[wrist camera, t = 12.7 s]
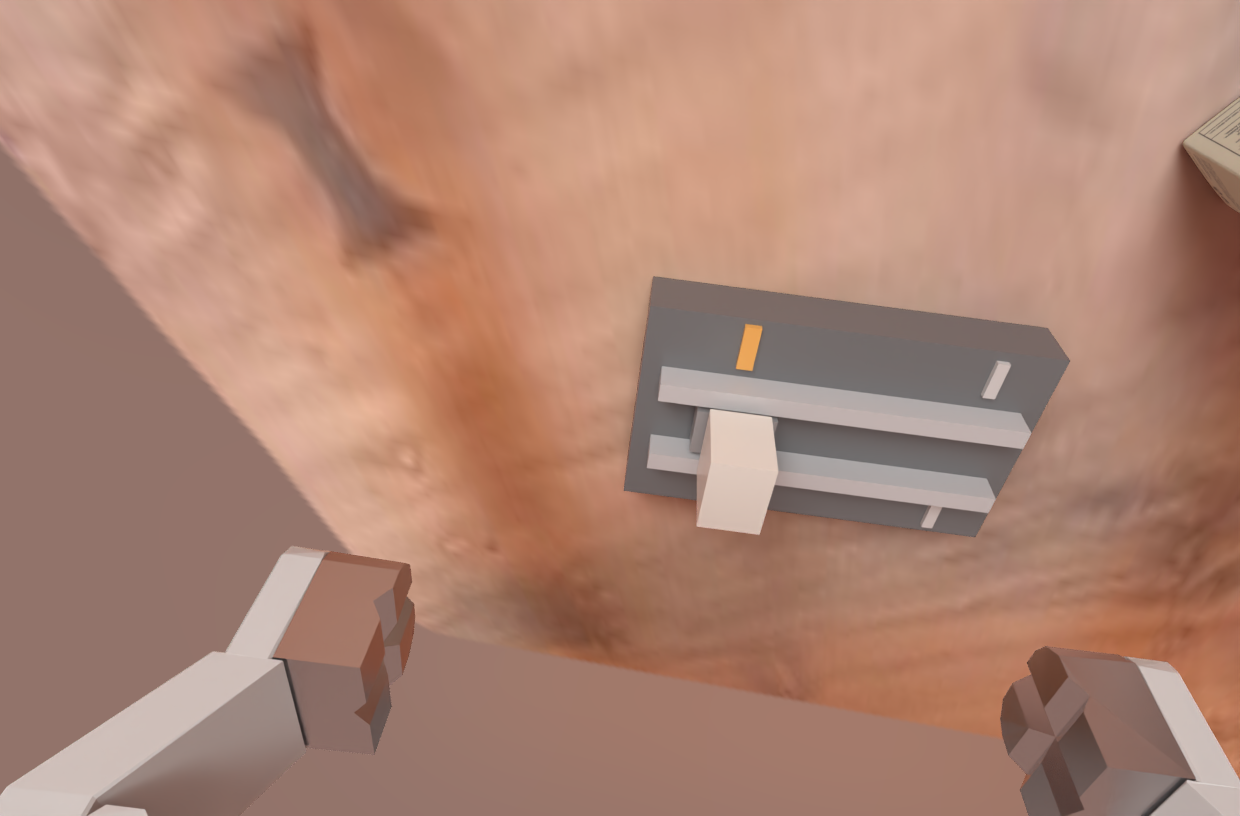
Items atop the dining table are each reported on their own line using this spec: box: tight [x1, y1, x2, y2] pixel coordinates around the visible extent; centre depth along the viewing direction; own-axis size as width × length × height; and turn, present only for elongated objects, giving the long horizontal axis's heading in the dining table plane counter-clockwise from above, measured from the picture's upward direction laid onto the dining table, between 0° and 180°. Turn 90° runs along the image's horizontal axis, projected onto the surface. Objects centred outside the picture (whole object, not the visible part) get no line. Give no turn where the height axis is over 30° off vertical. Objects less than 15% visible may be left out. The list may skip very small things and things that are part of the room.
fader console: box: [624, 277, 1070, 537], centre depth 41 cm, size 20×12×5 cm, turn 84°
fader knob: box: [689, 406, 778, 535], centre depth 38 cm, size 4×4×6 cm
